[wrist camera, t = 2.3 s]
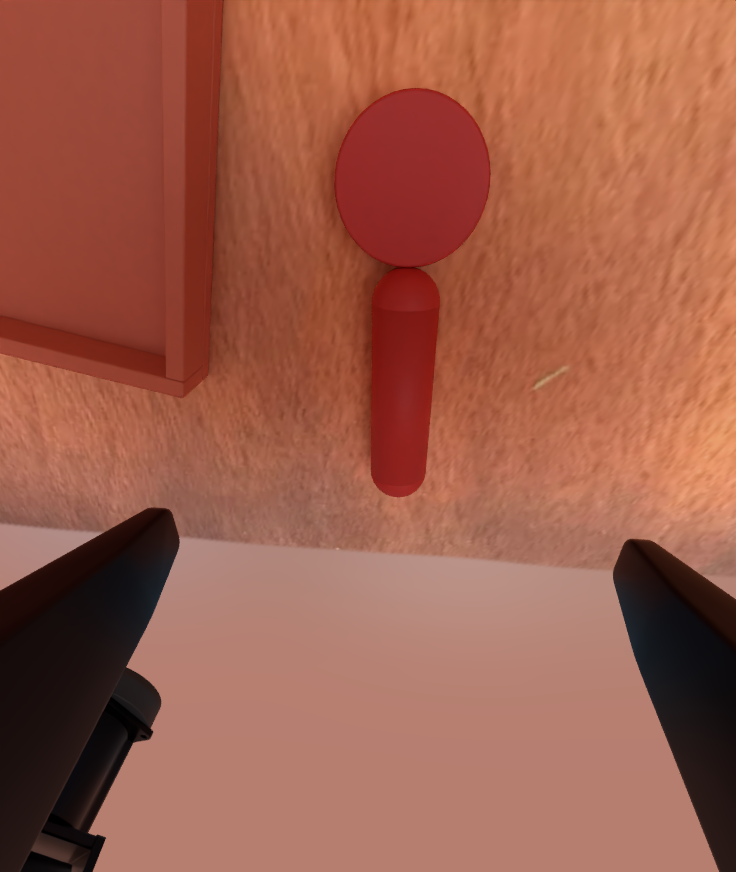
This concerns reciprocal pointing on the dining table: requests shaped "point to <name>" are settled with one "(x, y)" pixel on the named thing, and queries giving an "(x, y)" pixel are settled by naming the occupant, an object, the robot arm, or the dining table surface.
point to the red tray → (109, 186)
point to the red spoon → (408, 253)
